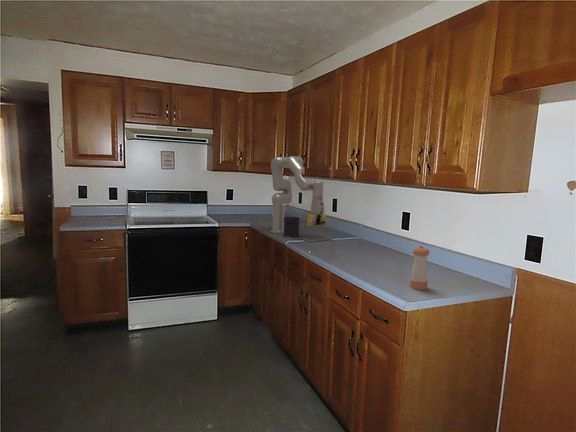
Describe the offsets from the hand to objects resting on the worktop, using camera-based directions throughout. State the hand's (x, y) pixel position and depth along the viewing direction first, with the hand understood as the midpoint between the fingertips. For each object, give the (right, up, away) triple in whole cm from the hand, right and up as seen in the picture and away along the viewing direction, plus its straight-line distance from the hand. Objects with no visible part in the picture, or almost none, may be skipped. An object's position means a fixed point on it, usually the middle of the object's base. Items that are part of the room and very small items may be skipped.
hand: (316, 223), depth 266 cm
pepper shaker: (+38, -27, -101) cm, 111 cm away
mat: (0, -12, +2) cm, 12 cm away
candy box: (0, -2, 0) cm, 2 cm away
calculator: (-18, -11, +12) cm, 25 cm away
